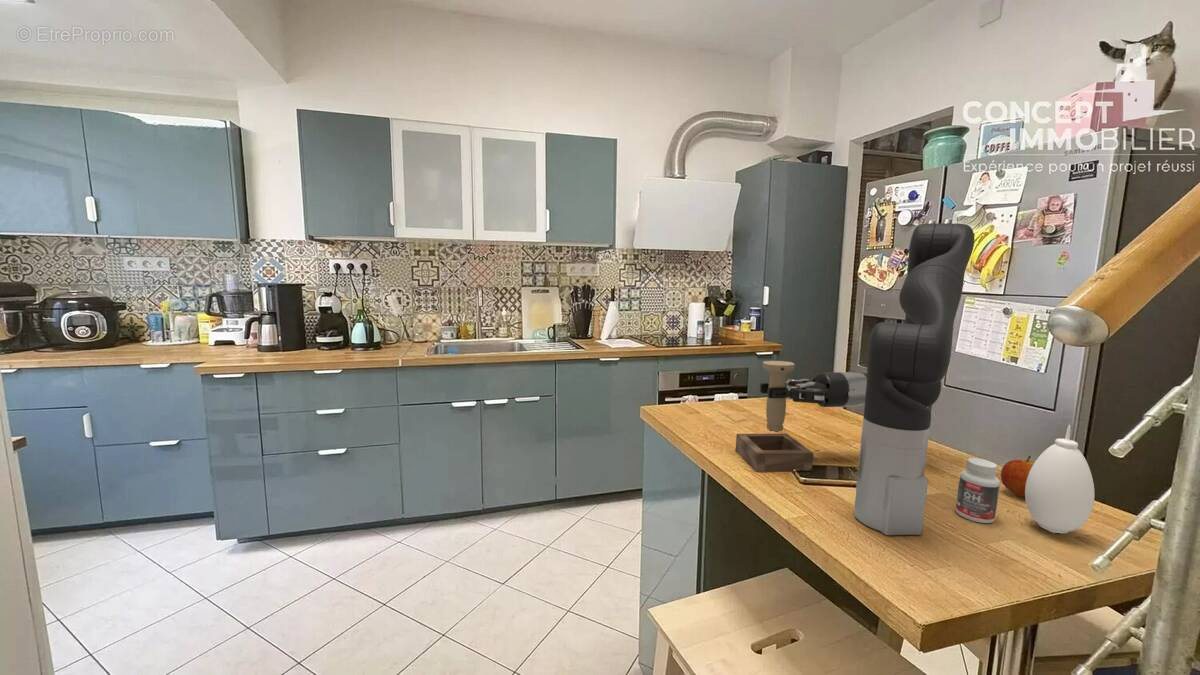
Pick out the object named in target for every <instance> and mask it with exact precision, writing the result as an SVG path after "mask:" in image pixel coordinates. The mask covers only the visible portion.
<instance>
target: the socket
mask: <svg viewBox="0 0 1200 675" xmlns="http://www.w3.org/2000/svg"><path fill="white" fill-rule="evenodd" d="M735 440H736V441H735V451H736V453H737V454H739V456H740V457H742V459H743V460H744V461H745V462H746V463H747V464H748V465H749V466H750V467H751V468H752V469H753V470H754V471H755V472H756V473H763V472H764V473H765V472H766V473H767V472H769V473H771V472H772V473H774V472H779V473H782V472H789V473H790V472H794V471H793V470H794V469H795V468H812V469H813V462H814V452H813V451H811V450H810V449H809V448H808V447H806V446H805V445H803V444H802V443H800V441H798V440H796V439H795V438H794V437H792V436H791V435H790V434H788V433H786V432H785V433H783V432H782V433H779V432H776V433H736V436H735Z"/></svg>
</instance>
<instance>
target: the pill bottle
mask: <svg viewBox="0 0 1200 675" xmlns="http://www.w3.org/2000/svg"><path fill="white" fill-rule="evenodd" d="M997 469H998V465H997V464H996V463H995V462H992V461H989V460H987V459H983V458H977V457H970V458H968V459H967V460H966V469H963V470H962V471H961V472H960V473H959V480H958V481H959V482H958V489H957V496H956V502H955V512H956V513H957V514H958V515H959V516H961V517H963V518H965V519H967V520H969V521H972V522H975V523H976V522H977V523H980V524H991V523H993V522H995V519H996V514H997V506H998V501H999V493H1000V487H1001V481H1000V479H999V478H998V477H997V476H996V474H997Z"/></svg>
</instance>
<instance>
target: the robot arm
mask: <svg viewBox="0 0 1200 675" xmlns="http://www.w3.org/2000/svg"><path fill="white" fill-rule="evenodd" d="M909 243H910V244H909V250H908V256H907V258H908V259H907V260H908V261H907V271H906V272H907V275H906V277H905V279H904V281H903V283H902V286H901V290H900V293H899V298H898V299H899V304H900V307H901V309H902V311H903V312H904V314H905V317H904V323H901V322H889V321H885V322H884V321H881V322H878V323H877V324H875V325H874V327H873V328H872V330H871V333H870V335H869V339H868V346H867V365H866V366H867V367H866V369H867V370H866V372H865V373H863V372H861V373H858V372H853V371H852V372H850V371H849V372H846V371H845V372H843V371H839V372H838V371H836V372H835V371H834V372H833V371H832V372H827V371H825V372H818V373H817V374H816V375H815V376H814V378H813V380H812V381H810V379H808V378H802V379H798V378H797V377H788V378H787V377H786V388H785V387H769V382H761V383H760V384H759V392H760V393H761V394H767V395H766V396H768V397H769V398H785V397H786V400H788V401H790V400H792V402H794V403H805V404H807V403H808V404H816V405H818V406H819V407H821V408H840V407H841V408H847V407H848V408H849V407H850V408H852V407H859V406H864V408H863V420H862V428H861V435H860V436H861V438H860V447H859V456H858V457H859V458H858V466H857V478H856V486H855V487H856V488H855V496H854V497H855V498H854V508H853V515H854V517H855V518H856V519H857V520H858V521H859V522H860V523H862V524H864V525H865V526H867V527H869V528H871V529H873V530H875V531H879V532H880V533H882V534H884V535H885V536H907V535H908V536H915V535H918V536H920V535H922V534H923V528H924V519H925V512H926V503H927V495H928V494H927V493H928V487H929V478H928V477H927V476H925V471H926V470H925V469H926V463H927V453H928V446H929V438H930V437H929V436H930V430H931V429H930V428H931V422H932V421H931V420H932V412H931V411H930V409H929V407H931V406H933V405H934V404H935V403H936V402H937V401H938V399H939V397H940V395H941V391H942V380H943V378H944V377H945V375H946V374H947V372H948V369H949V365H950V361H951V356H952V346H953V336H954V334H953V333H954V325H955V324H954V323H955V320H956V315H957V312H958V308H959V305H960V301H961V299H962V294H963V291H964V290H963V289H964V281H965V274H966V269H967V267H968V264H969V262H970V259H971V258H972V254H973V250H974V247H975V232H974V230H973V228H972V227H971V226H970V225H968V224H965V223H957V222H955V223H952V222H951V223H947V222H946V223H941V222H939V223H934V222H933V223H920V224H918V225H917V226H915V228H914V230H913V232H912V235H911V238H910V241H909Z"/></svg>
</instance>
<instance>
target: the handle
mask: <svg viewBox="0 0 1200 675" xmlns="http://www.w3.org/2000/svg"><path fill="white" fill-rule="evenodd" d="M795 365H796V364H795V363H794V362H792V361H783V360H765V361H762V369H763V370H764V371H767V373H769V381H768V383H769V387H785V388H786V378H787V375H788V374H789V373H791V372H793V371H794V370H795ZM766 396H767V395H766ZM765 406H766V407H765V408H766V409H765V413H766V422H767V423H766V429H767V430H768V431H769V432H774V433H779V432H783V430H784V425H783V424H784V423H785V417H786V410H787V399H786V397H785V398H769V397H768V396H767V397H766V405H765Z"/></svg>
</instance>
